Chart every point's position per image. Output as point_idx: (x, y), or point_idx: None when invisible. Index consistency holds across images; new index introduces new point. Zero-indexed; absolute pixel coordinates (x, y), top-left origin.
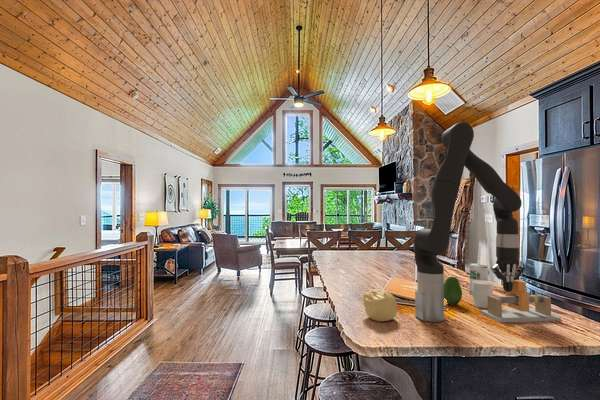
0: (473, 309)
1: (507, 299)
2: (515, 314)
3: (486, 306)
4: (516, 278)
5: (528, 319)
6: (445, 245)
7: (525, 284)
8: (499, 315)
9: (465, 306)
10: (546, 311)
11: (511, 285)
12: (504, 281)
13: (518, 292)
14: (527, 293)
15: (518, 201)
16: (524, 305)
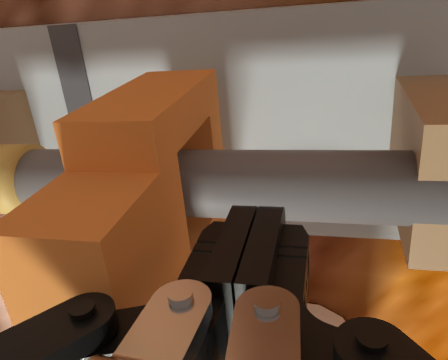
0: (433, 297)
1: (305, 159)
2: (234, 122)
3: (312, 310)
4: (84, 310)
5: (203, 13)
6: None
7: (9, 215)
8: (421, 78)
9: (439, 355)
10: (4, 97)
11: (216, 247)
12: (309, 325)
13: (164, 167)
14: (78, 119)
15: None
16: (172, 81)
